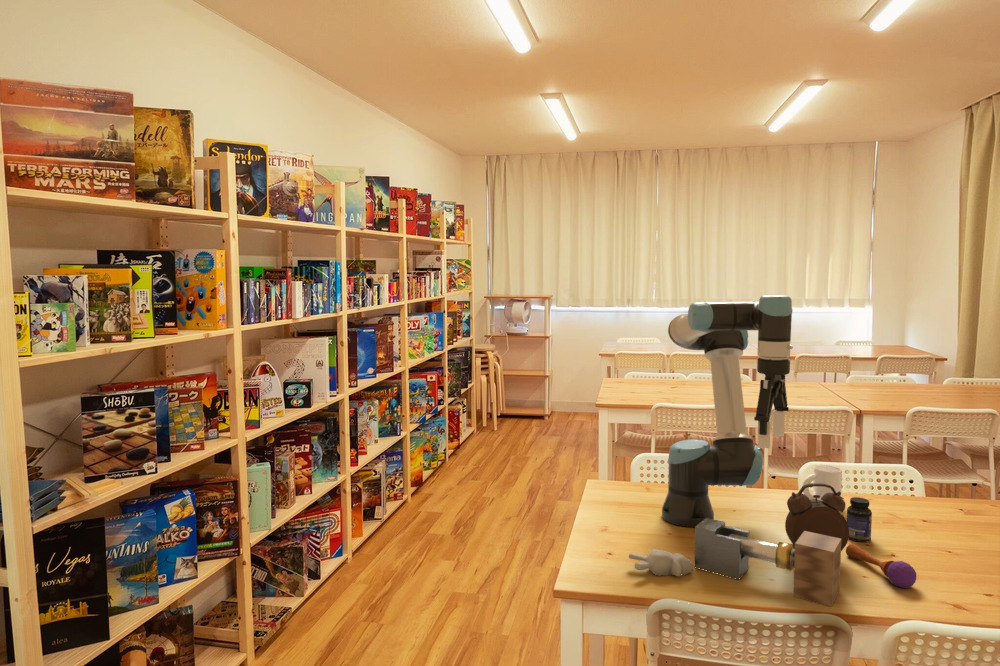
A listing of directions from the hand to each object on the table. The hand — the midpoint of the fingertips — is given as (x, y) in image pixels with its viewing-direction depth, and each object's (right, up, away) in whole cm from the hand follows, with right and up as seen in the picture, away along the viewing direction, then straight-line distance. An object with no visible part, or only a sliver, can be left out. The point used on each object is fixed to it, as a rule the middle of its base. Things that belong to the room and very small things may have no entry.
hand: (771, 441), depth 165 cm
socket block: (+5, -33, -13) cm, 36 cm away
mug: (+34, -28, +44) cm, 62 cm away
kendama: (+26, -32, -3) cm, 41 cm away
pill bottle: (+32, -30, +18) cm, 47 cm away
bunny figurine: (-28, -33, -1) cm, 43 cm away
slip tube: (-3, -28, -7) cm, 29 cm away
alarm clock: (+13, -31, +5) cm, 35 cm away
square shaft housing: (-13, -32, 0) cm, 34 cm away
